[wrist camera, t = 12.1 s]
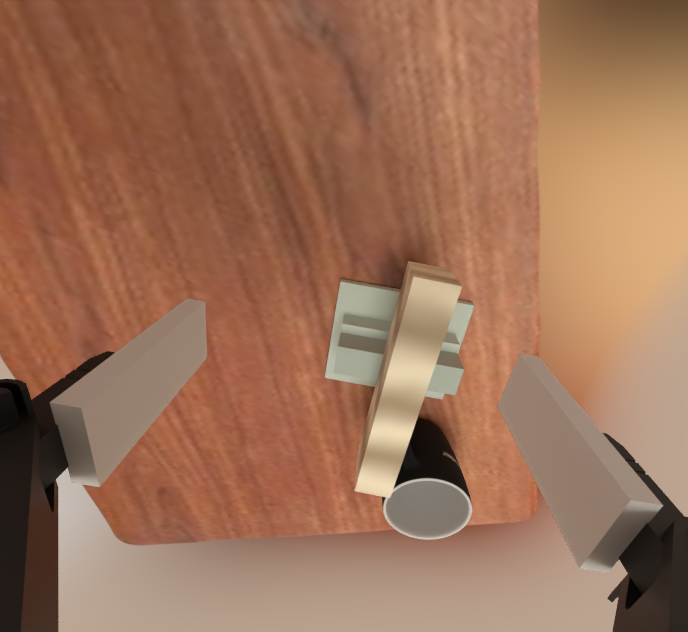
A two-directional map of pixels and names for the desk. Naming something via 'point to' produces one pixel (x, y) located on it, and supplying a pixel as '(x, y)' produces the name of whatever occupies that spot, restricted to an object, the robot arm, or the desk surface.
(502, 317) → the desk surface
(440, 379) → the ridge
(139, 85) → the desk surface
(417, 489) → the mug
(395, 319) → the birch bar
